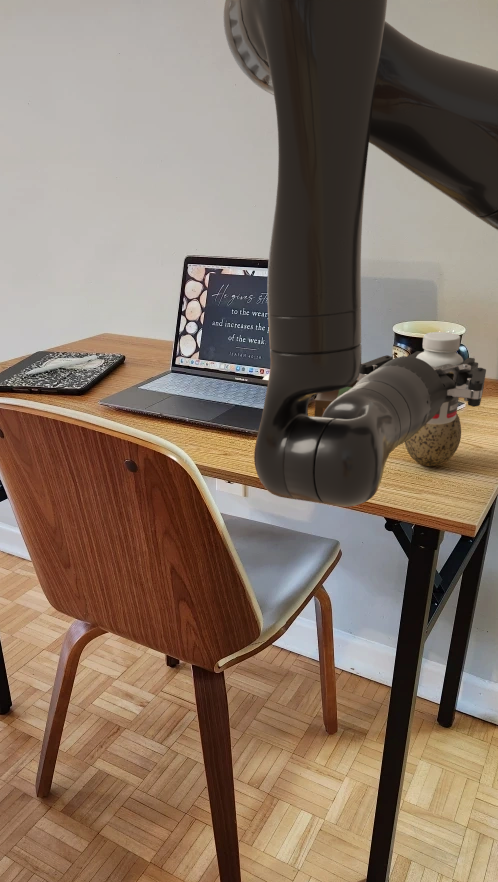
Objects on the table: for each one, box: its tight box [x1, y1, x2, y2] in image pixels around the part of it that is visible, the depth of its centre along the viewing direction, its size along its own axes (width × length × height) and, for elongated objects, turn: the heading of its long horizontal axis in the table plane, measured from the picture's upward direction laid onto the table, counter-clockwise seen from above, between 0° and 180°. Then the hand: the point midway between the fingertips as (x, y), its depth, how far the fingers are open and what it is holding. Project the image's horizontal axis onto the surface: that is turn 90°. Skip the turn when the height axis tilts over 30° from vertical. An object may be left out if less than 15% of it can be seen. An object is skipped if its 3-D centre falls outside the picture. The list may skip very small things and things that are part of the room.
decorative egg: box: [404, 412, 462, 467], centre depth 90 cm, size 7×7×10 cm
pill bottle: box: [416, 331, 464, 424], centre depth 80 cm, size 5×5×10 cm
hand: (444, 363), depth 81 cm, fingers closed on pill bottle, 5 cm apart
